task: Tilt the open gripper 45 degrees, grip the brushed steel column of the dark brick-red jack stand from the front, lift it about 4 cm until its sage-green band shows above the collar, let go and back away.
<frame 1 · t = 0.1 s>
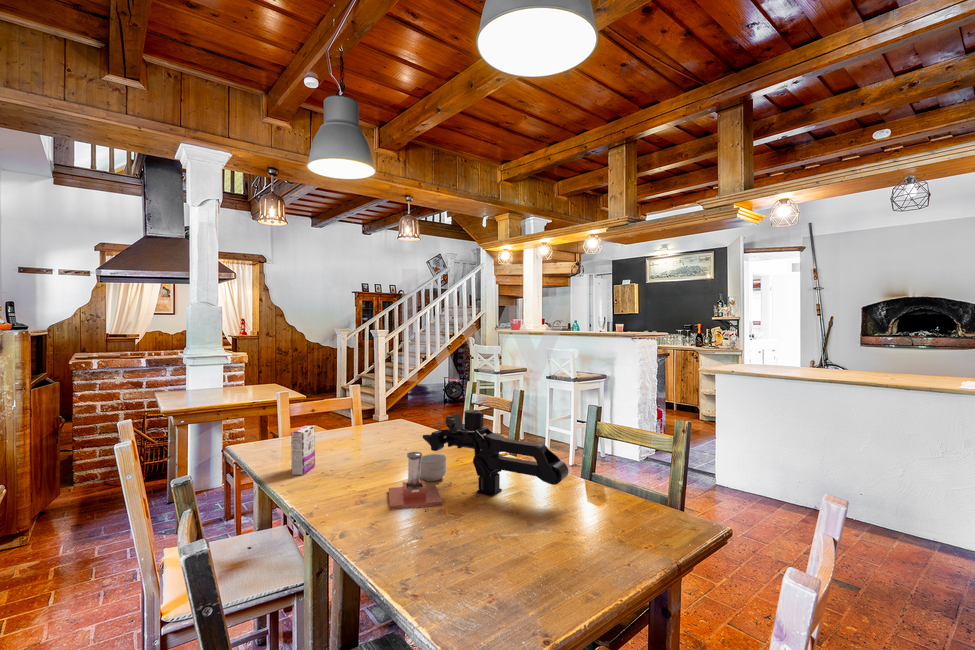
hand: (430, 434, 168), 17 cm above the table, tool horizontal, fingers open, 9 cm apart
teacup: (434, 478, 169), on the table
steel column: (414, 473, 149), point 8 cm above the table, slide at 0.0 cm
candy bar box: (303, 471, 176), on the table
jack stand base: (414, 498, 148), on the table
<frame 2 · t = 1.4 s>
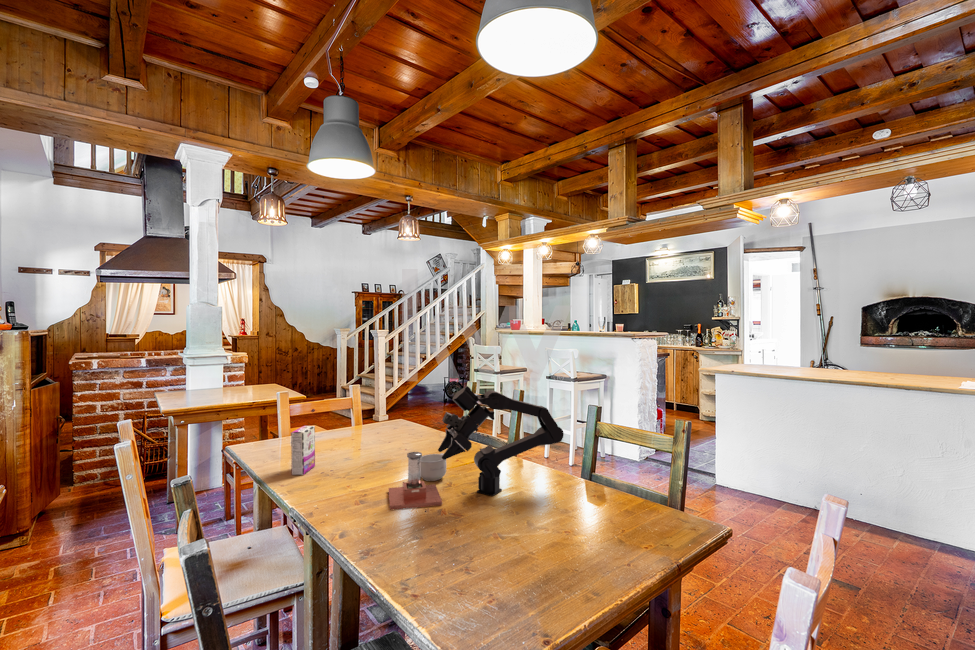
hand: (440, 454, 151), 14 cm above the table, tool tilted 45°, fingers open, 9 cm apart
nothing on the table moved.
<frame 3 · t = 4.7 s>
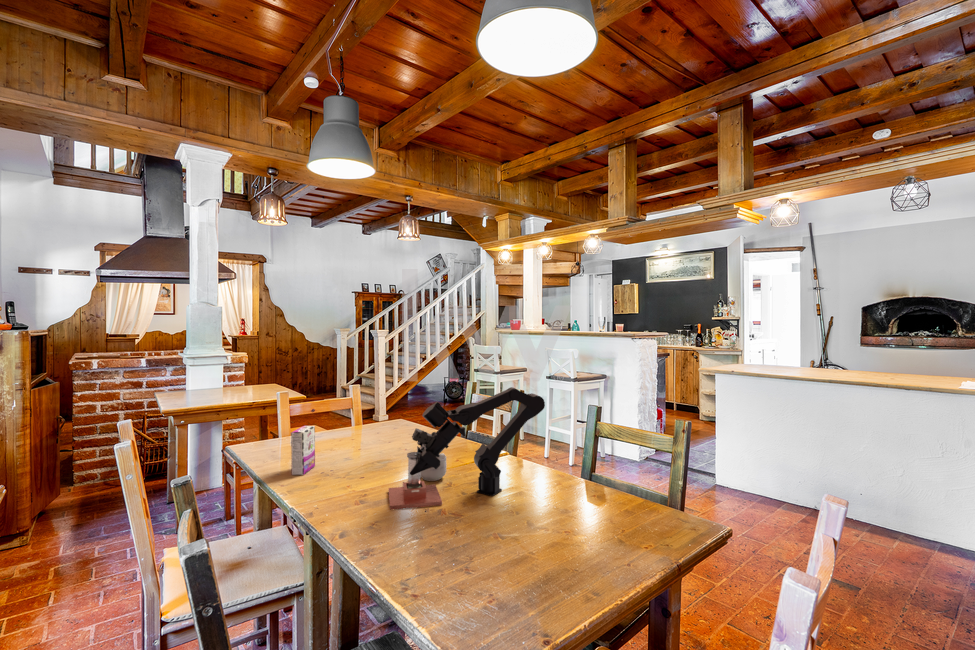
hand: (410, 472, 148), 9 cm above the table, tool tilted 45°, fingers closed on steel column, 4 cm apart
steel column: (414, 473, 149), point 8 cm above the table, slide at 0.0 cm, touching gripper
everything else where it was.
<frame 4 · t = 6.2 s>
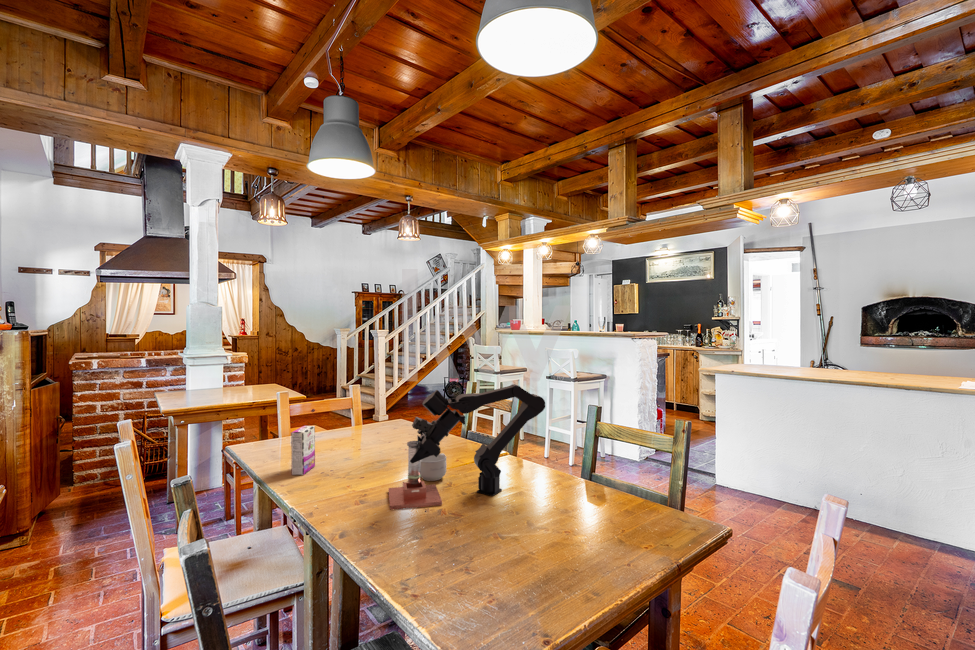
hand: (410, 460, 148), 12 cm above the table, tool tilted 45°, fingers closed on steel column, 4 cm apart
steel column: (414, 462, 149), point 12 cm above the table, slide at 3.7 cm, touching gripper
everything else where it was.
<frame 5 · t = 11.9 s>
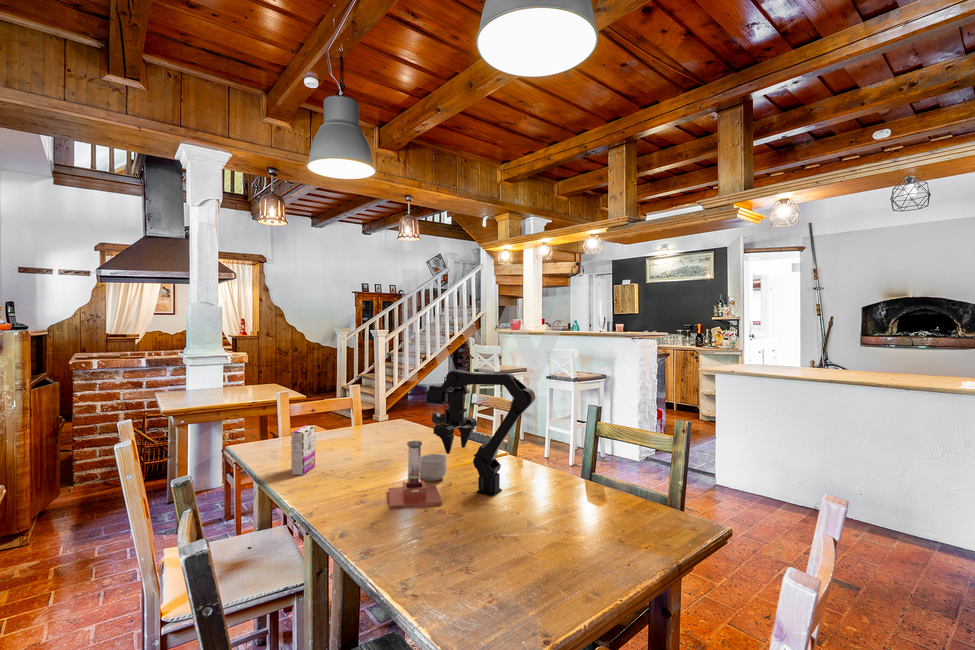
hand: (455, 450, 158), 13 cm above the table, tool pointing down, fingers open, 9 cm apart
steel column: (414, 462, 149), point 12 cm above the table, slide at 3.7 cm
everything else where it was.
at the end: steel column slide at 3.7 cm; the gripper is holding nothing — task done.
